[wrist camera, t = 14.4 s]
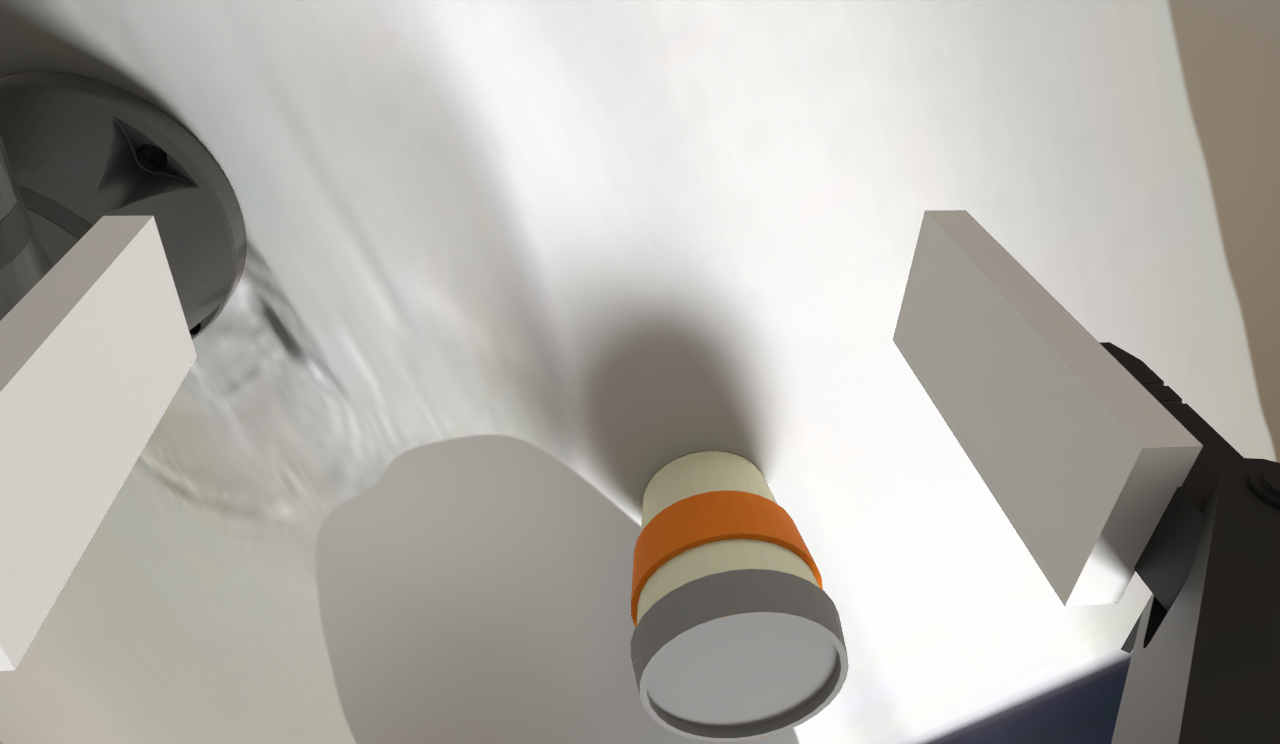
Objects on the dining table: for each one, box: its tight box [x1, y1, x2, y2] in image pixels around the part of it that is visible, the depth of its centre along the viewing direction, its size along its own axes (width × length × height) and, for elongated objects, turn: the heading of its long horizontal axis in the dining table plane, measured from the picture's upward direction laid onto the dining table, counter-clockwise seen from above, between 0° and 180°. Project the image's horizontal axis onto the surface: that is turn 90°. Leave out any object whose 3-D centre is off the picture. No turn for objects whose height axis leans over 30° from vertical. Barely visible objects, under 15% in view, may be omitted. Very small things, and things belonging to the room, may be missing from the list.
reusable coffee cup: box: [631, 451, 848, 742], centre depth 54 cm, size 13×13×15 cm
